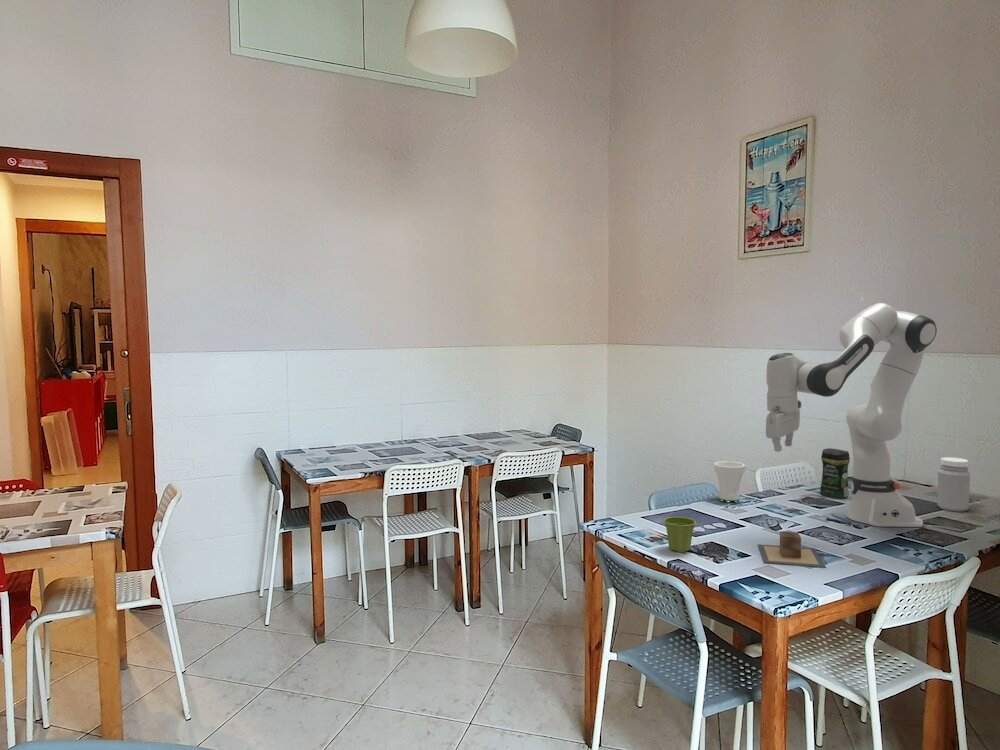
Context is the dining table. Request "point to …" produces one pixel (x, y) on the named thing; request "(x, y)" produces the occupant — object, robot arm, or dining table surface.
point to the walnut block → (790, 544)
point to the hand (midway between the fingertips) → (783, 448)
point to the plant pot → (679, 533)
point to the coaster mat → (807, 558)
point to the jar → (953, 484)
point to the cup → (729, 479)
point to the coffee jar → (835, 473)
